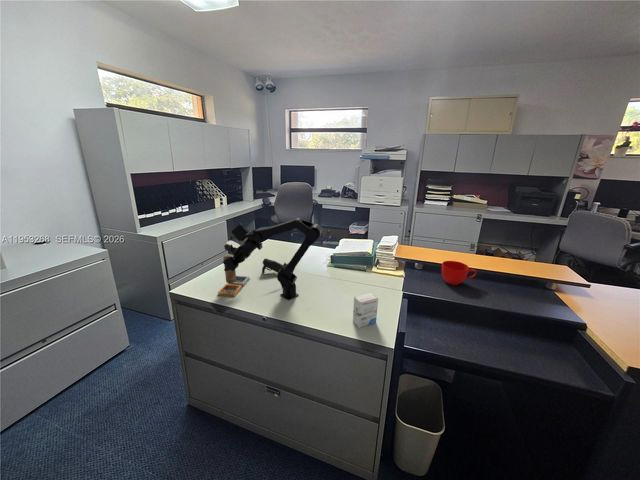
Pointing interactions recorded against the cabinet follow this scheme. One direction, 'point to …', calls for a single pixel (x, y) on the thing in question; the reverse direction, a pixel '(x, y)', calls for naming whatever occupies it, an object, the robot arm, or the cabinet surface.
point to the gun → (271, 265)
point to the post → (230, 272)
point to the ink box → (365, 309)
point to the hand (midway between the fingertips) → (227, 268)
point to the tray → (234, 287)
